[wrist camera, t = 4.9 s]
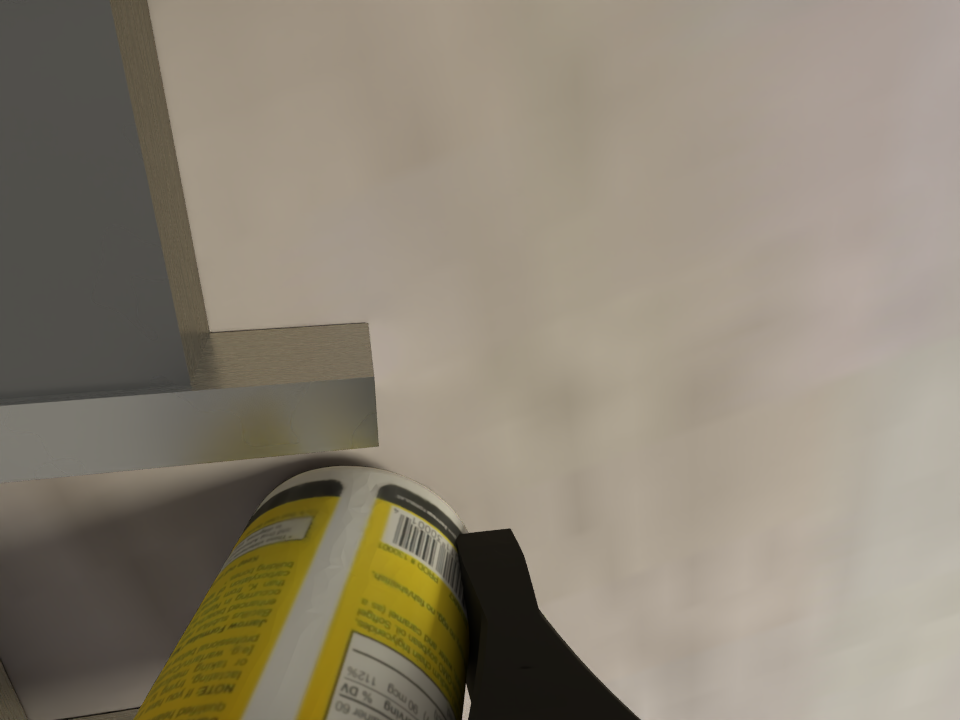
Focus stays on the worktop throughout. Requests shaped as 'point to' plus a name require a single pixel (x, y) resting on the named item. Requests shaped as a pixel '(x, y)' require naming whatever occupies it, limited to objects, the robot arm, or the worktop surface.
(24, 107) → the square frame with handle
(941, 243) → the worktop surface
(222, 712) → the supplement bottle
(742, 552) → the worktop surface
